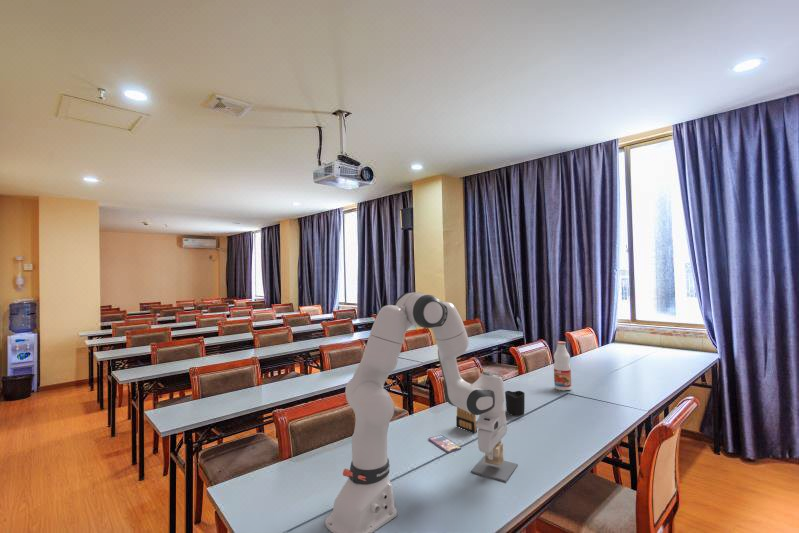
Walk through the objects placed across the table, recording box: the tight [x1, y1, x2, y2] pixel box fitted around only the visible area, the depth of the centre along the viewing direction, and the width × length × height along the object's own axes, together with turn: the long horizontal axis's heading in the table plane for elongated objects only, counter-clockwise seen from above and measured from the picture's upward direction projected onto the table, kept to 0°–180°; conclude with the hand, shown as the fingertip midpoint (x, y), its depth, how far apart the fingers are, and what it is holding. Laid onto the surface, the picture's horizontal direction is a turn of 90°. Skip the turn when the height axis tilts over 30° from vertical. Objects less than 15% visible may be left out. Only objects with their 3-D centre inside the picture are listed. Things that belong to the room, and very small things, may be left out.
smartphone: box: [428, 434, 462, 454], centre depth 161 cm, size 1×7×15 cm
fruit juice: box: [553, 340, 573, 391], centre depth 229 cm, size 9×9×28 cm
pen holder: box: [504, 390, 526, 416], centre depth 194 cm, size 9×9×10 cm
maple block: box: [484, 442, 504, 466], centre depth 140 cm, size 5×5×6 cm
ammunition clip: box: [455, 407, 478, 434], centre depth 175 cm, size 11×2×12 cm, turn 41°
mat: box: [470, 455, 519, 483], centre depth 140 cm, size 13×13×1 cm
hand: (494, 454), depth 140 cm, fingers closed on maple block, 5 cm apart
